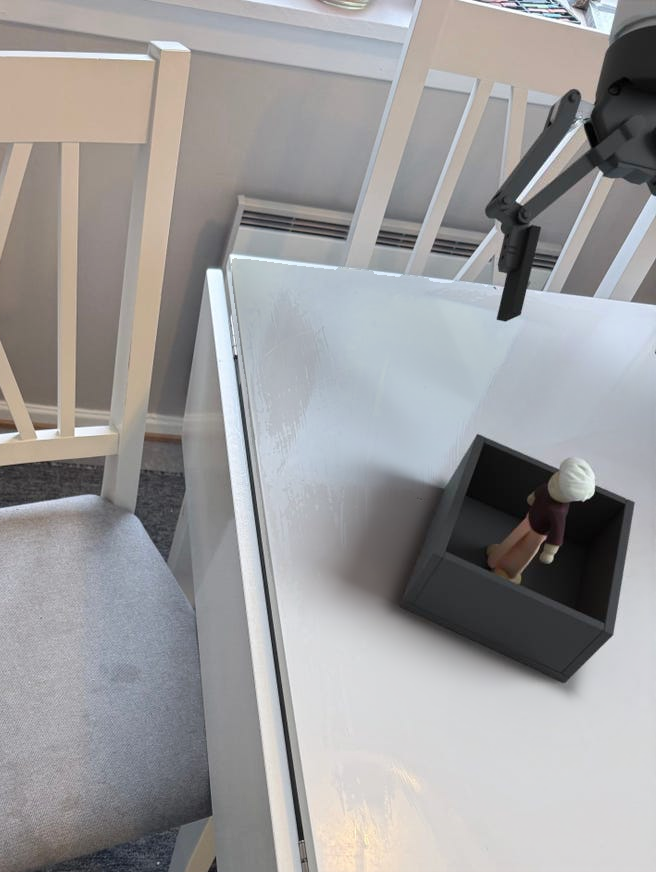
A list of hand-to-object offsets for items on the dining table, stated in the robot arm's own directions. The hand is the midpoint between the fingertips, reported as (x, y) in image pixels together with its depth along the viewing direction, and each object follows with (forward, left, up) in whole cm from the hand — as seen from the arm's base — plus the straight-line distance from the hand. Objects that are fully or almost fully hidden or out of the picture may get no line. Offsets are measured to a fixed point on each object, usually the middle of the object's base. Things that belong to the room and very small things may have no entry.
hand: (589, 335), depth 68 cm
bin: (-4, +10, -18) cm, 21 cm away
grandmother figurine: (-3, +10, -17) cm, 20 cm away
